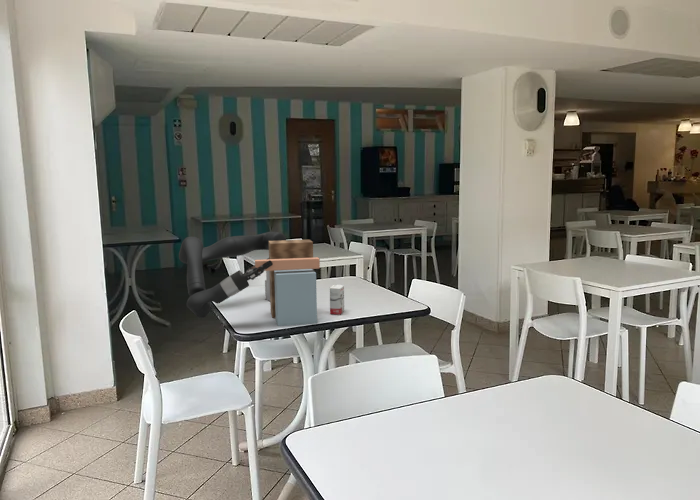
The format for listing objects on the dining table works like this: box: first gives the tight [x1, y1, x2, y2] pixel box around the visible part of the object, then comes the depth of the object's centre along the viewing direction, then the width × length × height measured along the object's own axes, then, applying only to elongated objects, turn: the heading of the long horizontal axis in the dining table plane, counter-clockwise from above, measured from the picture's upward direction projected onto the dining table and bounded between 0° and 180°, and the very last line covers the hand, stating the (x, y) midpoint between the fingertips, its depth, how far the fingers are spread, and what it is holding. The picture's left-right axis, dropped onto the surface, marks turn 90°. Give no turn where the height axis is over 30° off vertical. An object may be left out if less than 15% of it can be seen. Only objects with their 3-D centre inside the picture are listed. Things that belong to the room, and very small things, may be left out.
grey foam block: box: [274, 269, 318, 327], centre depth 227 cm, size 16×10×21 cm, turn 103°
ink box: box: [329, 284, 345, 316], centre depth 242 cm, size 9×5×12 cm, turn 168°
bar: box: [254, 256, 321, 272], centre depth 225 cm, size 26×4×4 cm, turn 103°
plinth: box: [268, 239, 314, 319], centre depth 239 cm, size 18×10×32 cm, turn 103°
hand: (271, 261), depth 223 cm, fingers closed on bar, 4 cm apart
